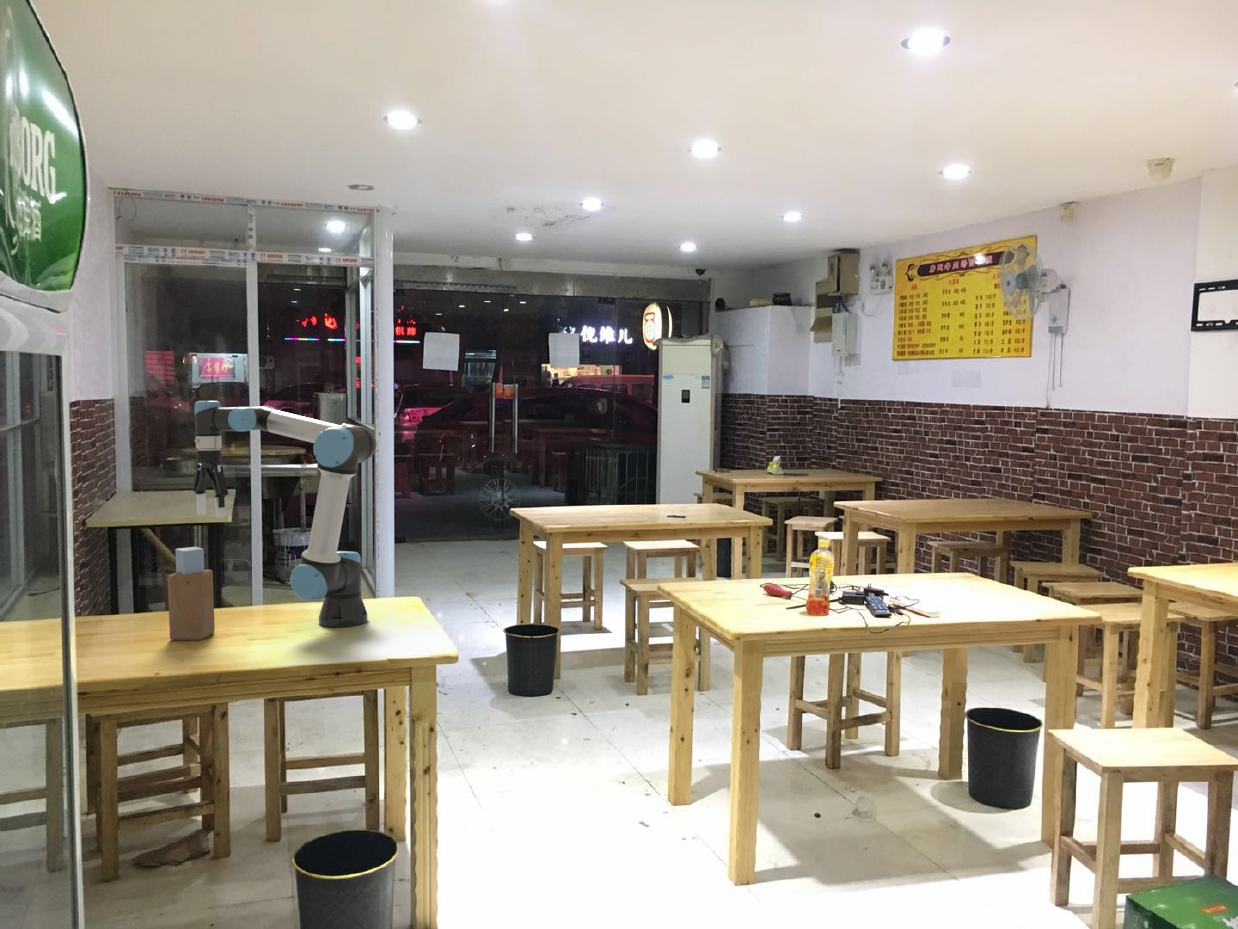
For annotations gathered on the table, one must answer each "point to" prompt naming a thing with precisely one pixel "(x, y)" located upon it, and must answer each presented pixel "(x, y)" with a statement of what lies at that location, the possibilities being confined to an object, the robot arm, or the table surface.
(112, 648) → the table surface
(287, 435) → the robot arm
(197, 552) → the slate block
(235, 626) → the table surface
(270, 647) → the table surface
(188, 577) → the wooden block
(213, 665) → the table surface
